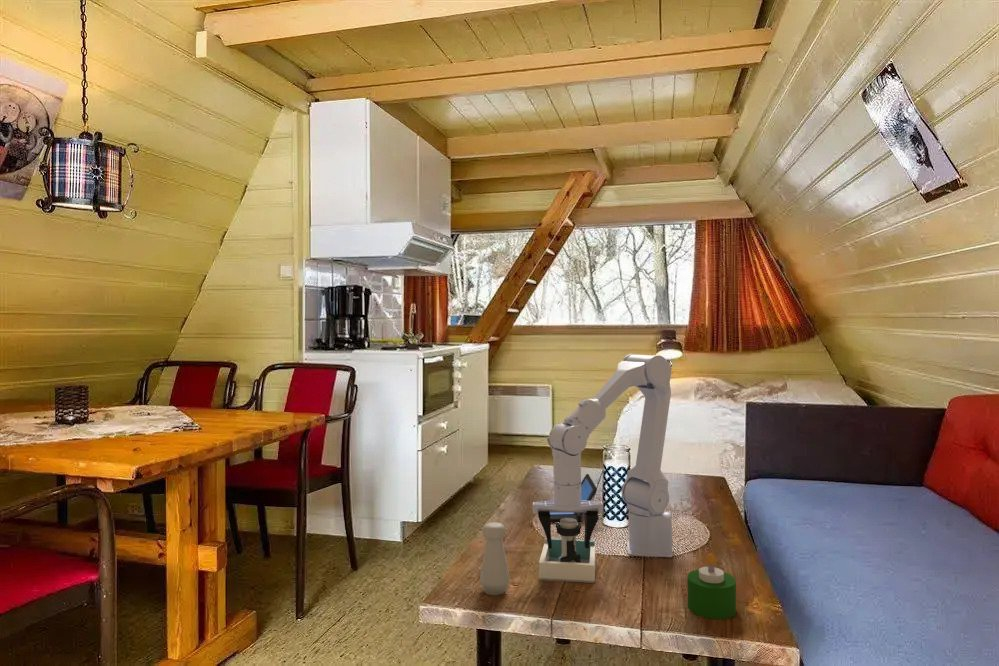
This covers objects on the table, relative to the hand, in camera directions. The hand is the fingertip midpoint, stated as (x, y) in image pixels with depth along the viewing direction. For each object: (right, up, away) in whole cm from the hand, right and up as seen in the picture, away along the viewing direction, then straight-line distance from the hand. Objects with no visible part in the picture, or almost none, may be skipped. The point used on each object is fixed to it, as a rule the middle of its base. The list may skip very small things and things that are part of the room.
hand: (568, 546), depth 132 cm
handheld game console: (+4, -4, +38) cm, 38 cm away
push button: (0, -5, -1) cm, 5 cm away
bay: (0, -5, 0) cm, 5 cm away
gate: (+1, -4, +6) cm, 7 cm away
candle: (+24, -5, -18) cm, 30 cm away
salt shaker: (-15, -6, -9) cm, 19 cm away
